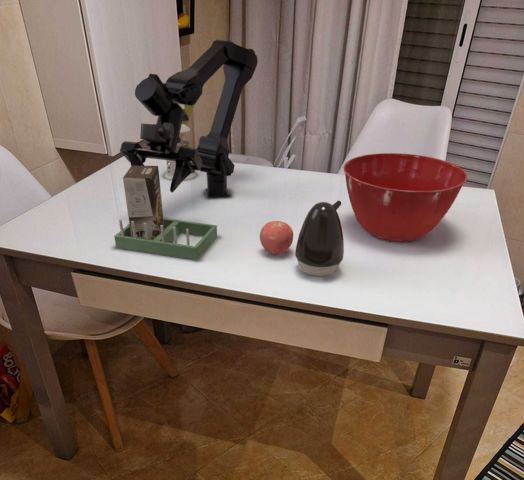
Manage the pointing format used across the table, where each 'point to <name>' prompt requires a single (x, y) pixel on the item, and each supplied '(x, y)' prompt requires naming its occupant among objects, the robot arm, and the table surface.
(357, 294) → the table surface
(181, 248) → the dish rack
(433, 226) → the mixing bowl
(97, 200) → the table surface
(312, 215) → the pump dispenser
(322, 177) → the table surface
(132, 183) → the coffee box
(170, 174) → the french press
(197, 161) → the robot arm
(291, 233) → the apple
